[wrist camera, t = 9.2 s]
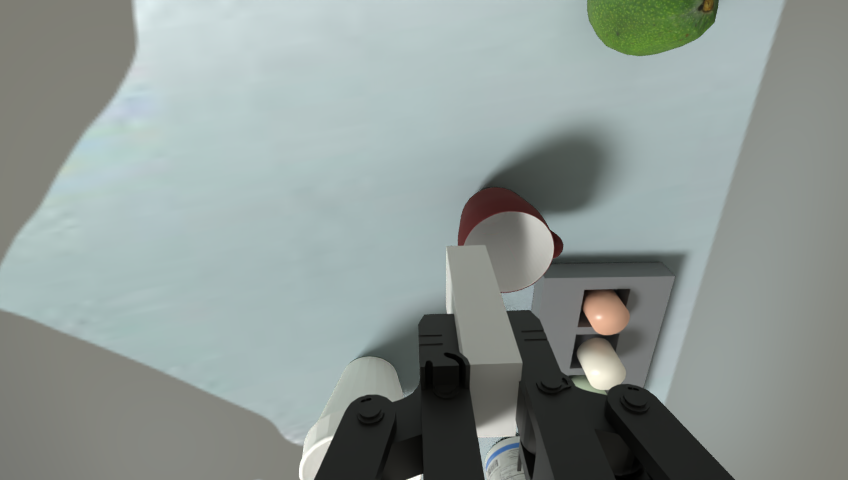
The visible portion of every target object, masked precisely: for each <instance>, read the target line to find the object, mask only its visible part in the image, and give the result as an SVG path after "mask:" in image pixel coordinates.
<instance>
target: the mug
mask: <svg viewBox="0 0 848 480" xmlns="http://www.w3.org/2000/svg"><path fill="white" fill-rule="evenodd" d="M470 245H486V249H487V252H488V255H489V258H490V261H491V264H492V268H493V271H494V274H495V277H496V280H497V283H498V287H499V290H500V293H509V292H515V291H519V290H522V289H524V288H527V287H529V286H530V285H532V284H534V283H535V282H537V281H538V280H539V279H540V278H541V277H542V276H543V275H544V274H545V273H546V271H547V270H548V268H549V267H550V265H551V263H552V260H553V258H556V257H558V256H559V255H560V254H561V252H562V250H563V242H562V240H561V238H560V237H559V236H558V235H557V234H555V233H554V232H552V231H551V230H550V229H549V227H548V225H547V223H546V222H545V220H544V218H543V217H542V216H541V214H540V213H539V212H538V211H537V210H536V209H535V208H534V207H533V206H532V205H531V204H529V203H528V202H527V201H525V200H524V199H523V198H521V197H520V196H519V195H517V194H516V193H514V192H513V191H510V190H508V189H505V188H500V187H492V188H487V189H483V190H481V191H479V192H477V193H476V194H474V195H473V196H472V197H471V198H470V199H469V200H468V202H467V203H466V205H465V207H464V209H463V211H462V215H461V220H460V227H459V233H458V246H470Z"/></svg>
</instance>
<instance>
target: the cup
mask: <svg viewBox="0 0 848 480" xmlns="http://www.w3.org/2000/svg"><path fill="white" fill-rule="evenodd" d="M375 394H378V395H381V396H384V397H387V398H388V399H389V400H390V401H392V402H394V401H397V400H400V399H403V398H404V395H403V392H402V389H401V385H400V382H399V379H398V375H397V372H396V370H395V368H394V367H393V366H392V365H391V364H390V363H389V362H387V361H386V360H384V359H381V358H378V357H370V356H368V357H361V358H358V359H355V360H354V361H352V362H350V363H349V364H348V365H347V367H346V368H345V370H344V372H343V374H342V375H341V377H340V379H339V381H338V383H337V385H336V387H335V389H334V391H333V393H332V395H331V397H330V398H329V400H328V402H327V404H326V406H325V408H324V410H323V412H322V414H321V416H320V418H319V420H318V421H317V423H316V424H315V425H314V426H313V427H312V428H311V429H310V430H309V432H308V434H307V437H306V439H305V442H304V449H303V456H302V460H301V462H300V469H299V476H300V479H301V480H314V478H315V476H316V474H317V472H318V469H319V467H320V465H321V463H322V461H323V458H324V456H325V454H326V452H327V450H328V447H329V445H330V443H331V441H332V439H333V437H334V434H335V432H336V430H337V428H338V426H339V423H340V421H341V419H342V417H343V415H344V412H345V410H346V409H347V407H348V406H349V405H350V403H351V402H353V401H354V400H356V399H357V398H359V397H362V396H365V395H375ZM421 476H422V474H421V475H418V476H416V477H413V478H410V479H408V480H421Z"/></svg>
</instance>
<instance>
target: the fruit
mask: <svg viewBox="0 0 848 480" xmlns="http://www.w3.org/2000/svg"><path fill="white" fill-rule="evenodd" d="M718 2H719V0H587V12H588V17H589V21H590V23H591V25H592V27H593V29H594V31H595V32H596V34H597V36H598V37H599V38H600V39H601V40H602V42H603V43H604V44H605V45H606V46H608V47H610V48H612V49H614V50H616V51H618V52H621V53H624V54H627V55H635V56H645V55H653V54H658V53H662V52H665V51H668V50H671V49H674V48H677V47H681V46H683V45H685V44H687V43H689V42H691V41H694V40H696V39H697V38H699V37H700V36H701V35H702V34H703V33H704V32H705V31H706V30H707V29H708V28H709V27H710V26H711V25H712V24H713V23H714V22H715V18H716V13H717V9H718Z"/></svg>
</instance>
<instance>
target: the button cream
mask: <svg viewBox="0 0 848 480" xmlns="http://www.w3.org/2000/svg"><path fill="white" fill-rule="evenodd" d="M577 357H578V359H579V362H580V364H581V366H582V368H583V370H584V372H585V374H586V376H587V378H588V380H589V382H590V384H591V386H592V387H594V388H596V389H599V390H609V389H611V388H612V387H614V386H616V385H618V384H621V383H622V382H623V380H624V379H625V377H626V370H625V368H624V366H623V364H622V363H621V361H620V359H619V358H618V356H617V354H616V352H615V351H614V349H613V347H612V346H611V344H610V343H609V341H607V340H606V339H603V338H592V339H589V340H587V341H585V342H583V343H582V344H581V345H580V346H579V348H578V350H577Z"/></svg>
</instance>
